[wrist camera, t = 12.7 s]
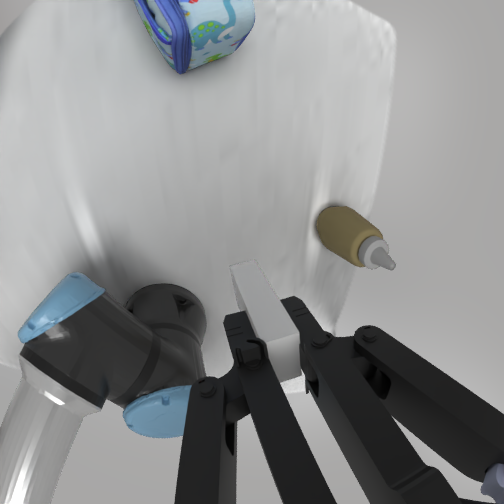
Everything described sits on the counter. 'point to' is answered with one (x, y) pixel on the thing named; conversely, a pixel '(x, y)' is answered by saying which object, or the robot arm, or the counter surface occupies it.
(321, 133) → the counter surface
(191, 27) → the lunch box
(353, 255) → the squeeze bottle
